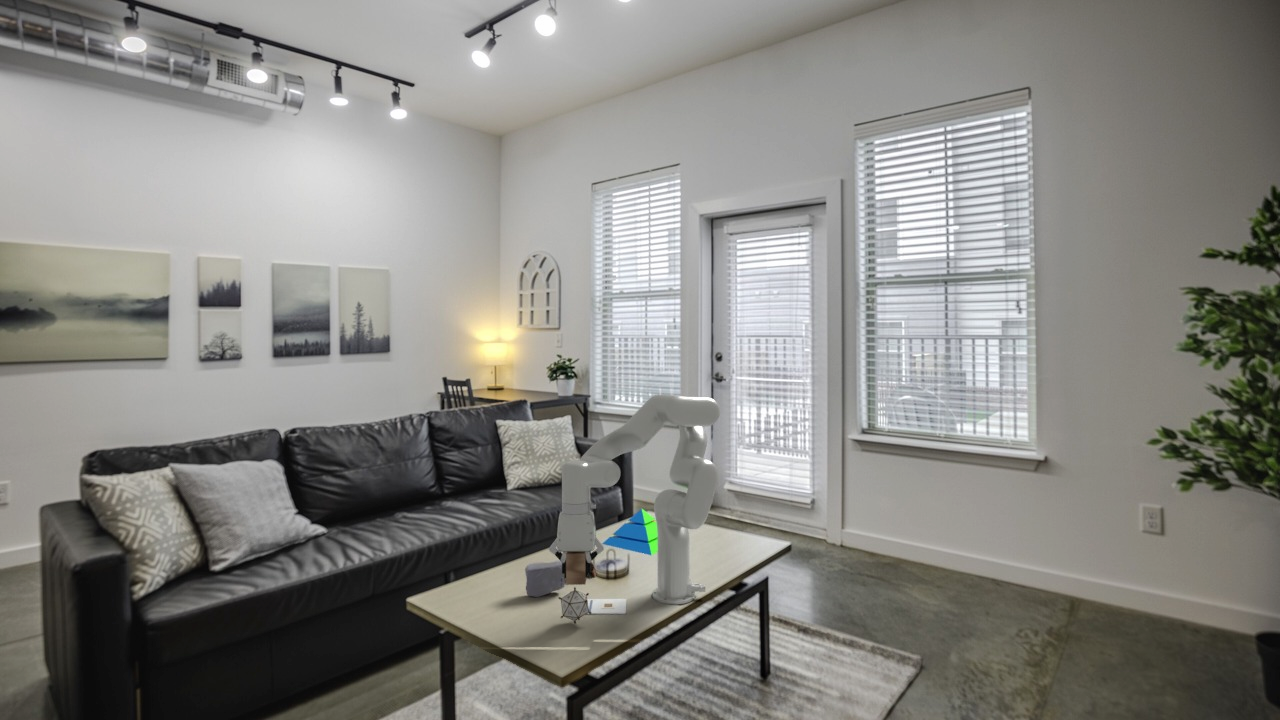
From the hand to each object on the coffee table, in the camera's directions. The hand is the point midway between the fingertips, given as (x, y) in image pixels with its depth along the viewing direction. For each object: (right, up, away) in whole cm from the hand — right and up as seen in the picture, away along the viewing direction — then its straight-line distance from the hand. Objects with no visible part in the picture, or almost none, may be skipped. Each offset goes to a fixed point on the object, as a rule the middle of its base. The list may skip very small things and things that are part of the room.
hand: (576, 575), depth 167 cm
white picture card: (+7, -13, +11) cm, 18 cm away
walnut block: (0, -1, 0) cm, 1 cm away
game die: (0, -13, 0) cm, 13 cm away
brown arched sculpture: (-1, -14, +37) cm, 39 cm away
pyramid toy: (+18, -13, +70) cm, 73 cm away
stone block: (-11, -13, +19) cm, 26 cm away
